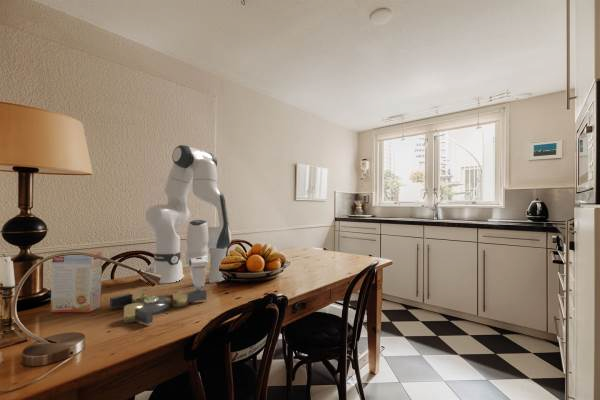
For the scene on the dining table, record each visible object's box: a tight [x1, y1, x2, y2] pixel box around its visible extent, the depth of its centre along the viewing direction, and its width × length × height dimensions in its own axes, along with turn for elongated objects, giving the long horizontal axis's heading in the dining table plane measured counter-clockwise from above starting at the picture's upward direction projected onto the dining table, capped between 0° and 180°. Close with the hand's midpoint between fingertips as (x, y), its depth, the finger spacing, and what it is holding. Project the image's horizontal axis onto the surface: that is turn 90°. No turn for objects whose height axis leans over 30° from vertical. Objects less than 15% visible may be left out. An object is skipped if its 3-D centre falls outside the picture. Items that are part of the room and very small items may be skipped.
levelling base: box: [132, 295, 172, 316], centre depth 102 cm, size 13×13×5 cm
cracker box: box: [50, 251, 103, 313], centre depth 100 cm, size 14×6×21 cm, turn 90°
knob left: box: [172, 289, 207, 308], centre depth 108 cm, size 12×6×4 cm, turn 117°
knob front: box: [123, 303, 154, 325], centre depth 90 cm, size 12×6×4 cm, turn 59°
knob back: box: [109, 288, 147, 309], centre depth 105 cm, size 12×6×4 cm, turn 147°
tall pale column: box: [208, 247, 228, 284], centre depth 142 cm, size 11×4×22 cm, turn 140°
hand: (196, 291), depth 116 cm, fingers open, 8 cm apart
